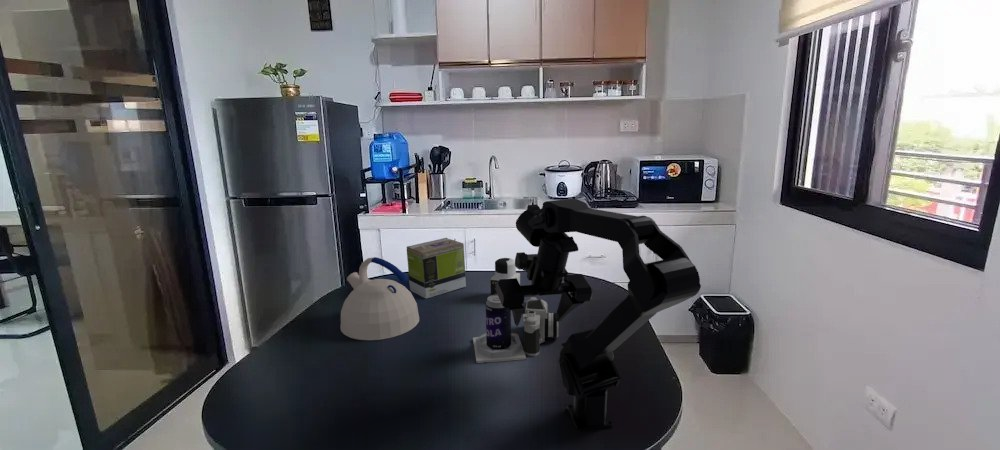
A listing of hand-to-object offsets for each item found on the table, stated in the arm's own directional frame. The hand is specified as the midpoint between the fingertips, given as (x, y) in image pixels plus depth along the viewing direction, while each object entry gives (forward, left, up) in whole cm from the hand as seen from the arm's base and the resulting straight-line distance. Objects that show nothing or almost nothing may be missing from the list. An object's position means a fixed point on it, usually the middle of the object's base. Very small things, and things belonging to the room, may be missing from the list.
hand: (537, 322), depth 95 cm
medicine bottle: (+40, +1, -11) cm, 42 cm away
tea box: (+51, +21, -11) cm, 57 cm away
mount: (+10, +7, -11) cm, 17 cm away
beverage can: (+10, +7, -11) cm, 16 cm away
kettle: (+29, +36, -11) cm, 48 cm away
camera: (+13, -4, -11) cm, 18 cm away
